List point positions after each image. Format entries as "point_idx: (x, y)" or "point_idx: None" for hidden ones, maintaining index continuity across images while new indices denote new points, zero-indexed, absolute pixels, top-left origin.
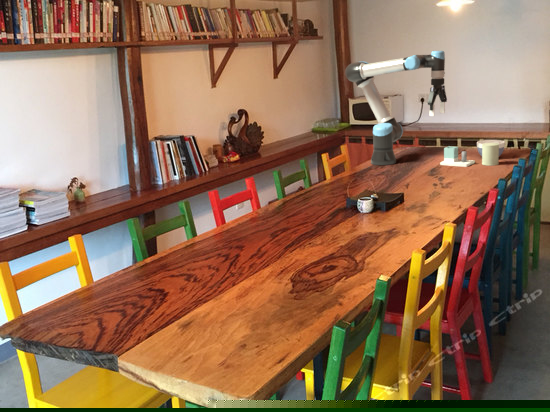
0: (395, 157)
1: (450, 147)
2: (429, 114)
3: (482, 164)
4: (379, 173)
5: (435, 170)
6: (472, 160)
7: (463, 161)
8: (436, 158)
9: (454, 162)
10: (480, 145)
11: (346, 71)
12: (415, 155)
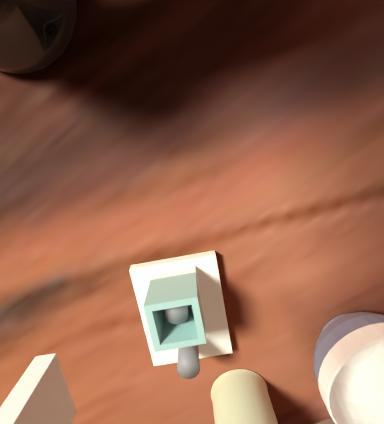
0: (40, 49)
1: (192, 308)
2: (21, 377)
3: (216, 379)
4: None
5: (38, 308)
6: (226, 346)
7: None
8: (242, 170)
9: None
10: (327, 371)
11: None
12: (263, 22)
